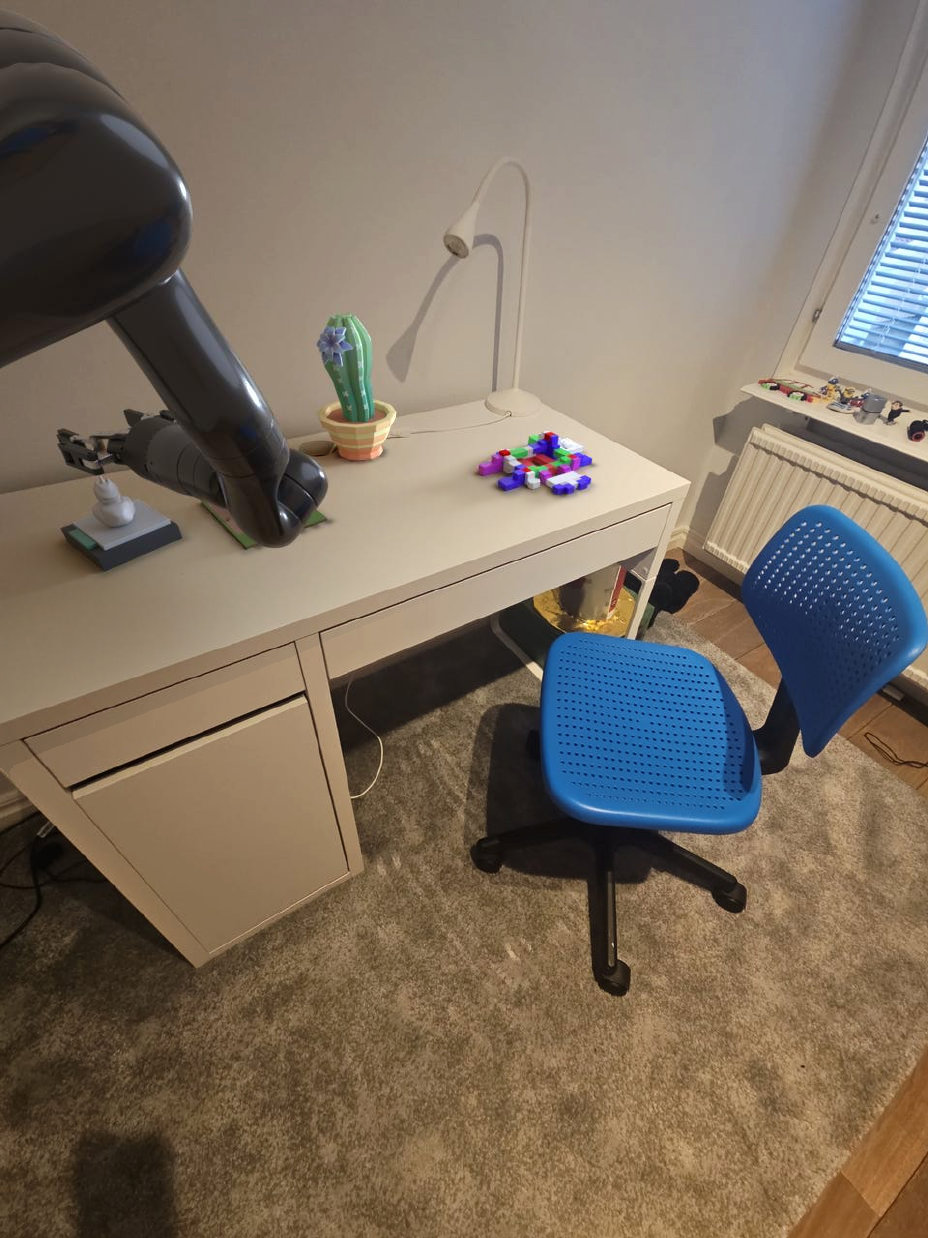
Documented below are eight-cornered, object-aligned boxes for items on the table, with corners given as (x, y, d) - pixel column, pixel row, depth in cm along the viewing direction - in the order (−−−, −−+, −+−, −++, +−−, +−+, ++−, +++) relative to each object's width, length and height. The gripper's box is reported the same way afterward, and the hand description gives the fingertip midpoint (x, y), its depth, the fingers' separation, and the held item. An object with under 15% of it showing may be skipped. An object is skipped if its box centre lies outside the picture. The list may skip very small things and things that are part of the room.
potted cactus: (309, 446, 112) (287, 310, 96) (375, 430, 119) (364, 302, 103) (344, 474, 103) (326, 329, 87) (412, 455, 110) (407, 318, 94)
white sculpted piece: (106, 536, 78) (83, 486, 73) (92, 519, 82) (69, 469, 77) (145, 524, 81) (125, 475, 76) (130, 507, 85) (110, 459, 80)
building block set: (529, 507, 96) (532, 483, 93) (464, 463, 108) (465, 441, 105) (626, 474, 107) (631, 452, 104) (557, 438, 119) (560, 418, 116)
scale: (104, 571, 77) (95, 553, 75) (67, 541, 83) (57, 523, 81) (182, 537, 85) (176, 520, 83) (143, 512, 90) (136, 494, 88)
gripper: (221, 409, 65) (137, 382, 71) (108, 447, 56) (22, 412, 62) (235, 467, 70) (156, 437, 76) (134, 512, 61) (52, 473, 67)
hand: (96, 426), depth 69 cm, fingers open, 8 cm apart
